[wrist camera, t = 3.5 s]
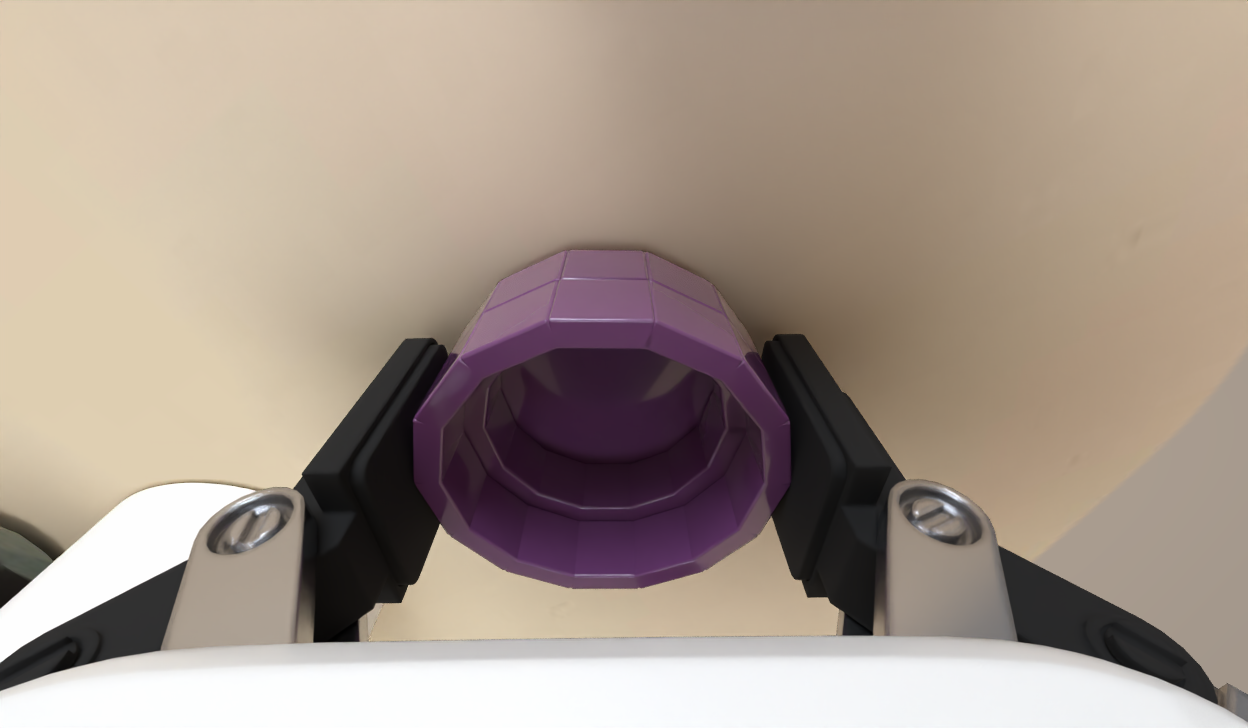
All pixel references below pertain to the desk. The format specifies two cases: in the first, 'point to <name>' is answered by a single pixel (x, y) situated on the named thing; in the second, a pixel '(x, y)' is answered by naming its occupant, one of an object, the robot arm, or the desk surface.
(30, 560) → the vessel
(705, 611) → the desk surface
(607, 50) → the desk surface
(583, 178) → the desk surface
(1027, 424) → the desk surface
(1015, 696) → the robot arm
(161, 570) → the cup
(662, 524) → the plum dish
